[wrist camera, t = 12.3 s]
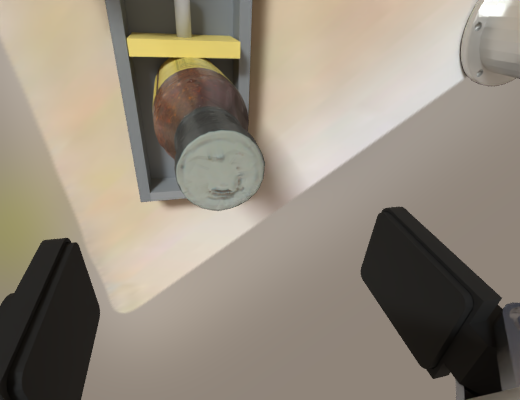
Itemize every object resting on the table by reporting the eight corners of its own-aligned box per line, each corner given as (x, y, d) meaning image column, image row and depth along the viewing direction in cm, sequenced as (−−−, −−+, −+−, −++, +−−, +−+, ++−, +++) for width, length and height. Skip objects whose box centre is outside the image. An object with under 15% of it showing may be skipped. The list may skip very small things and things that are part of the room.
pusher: (230, -18, 26) (241, -20, 23) (230, 50, 29) (240, 58, 25) (123, -26, 24) (116, -30, 21) (134, 47, 27) (129, 56, 23)
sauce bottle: (200, 128, 33) (234, 256, 16) (142, 94, 30) (115, 212, 13) (234, 73, 31) (313, 158, 14) (177, 30, 28) (194, 79, 11)
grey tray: (243, -56, 26) (254, -63, 23) (238, 176, 38) (245, 193, 35) (100, -71, 24) (90, -82, 20) (143, 183, 35) (141, 202, 32)
